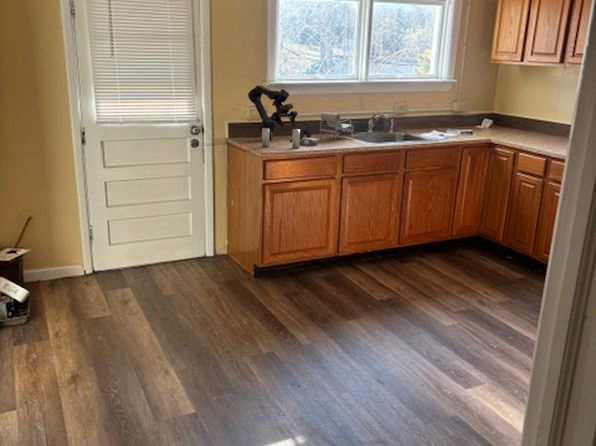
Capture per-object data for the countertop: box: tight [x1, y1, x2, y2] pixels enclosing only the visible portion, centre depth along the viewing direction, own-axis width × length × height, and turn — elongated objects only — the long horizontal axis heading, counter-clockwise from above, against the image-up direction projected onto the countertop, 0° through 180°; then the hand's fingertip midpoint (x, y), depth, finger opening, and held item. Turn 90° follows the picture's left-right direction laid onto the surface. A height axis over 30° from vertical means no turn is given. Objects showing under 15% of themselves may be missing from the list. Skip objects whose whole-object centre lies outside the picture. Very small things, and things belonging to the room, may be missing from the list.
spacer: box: [261, 128, 270, 149], centre depth 374 cm, size 5×5×12 cm
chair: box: [319, 111, 355, 143], centre depth 415 cm, size 13×25×20 cm, turn 142°
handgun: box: [300, 121, 312, 140], centre depth 412 cm, size 2×17×12 cm, turn 149°
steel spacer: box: [291, 128, 301, 150], centre depth 374 cm, size 5×5×12 cm
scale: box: [299, 137, 321, 147], centre depth 392 cm, size 12×15×4 cm
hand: (289, 126), depth 378 cm, fingers open, 9 cm apart
